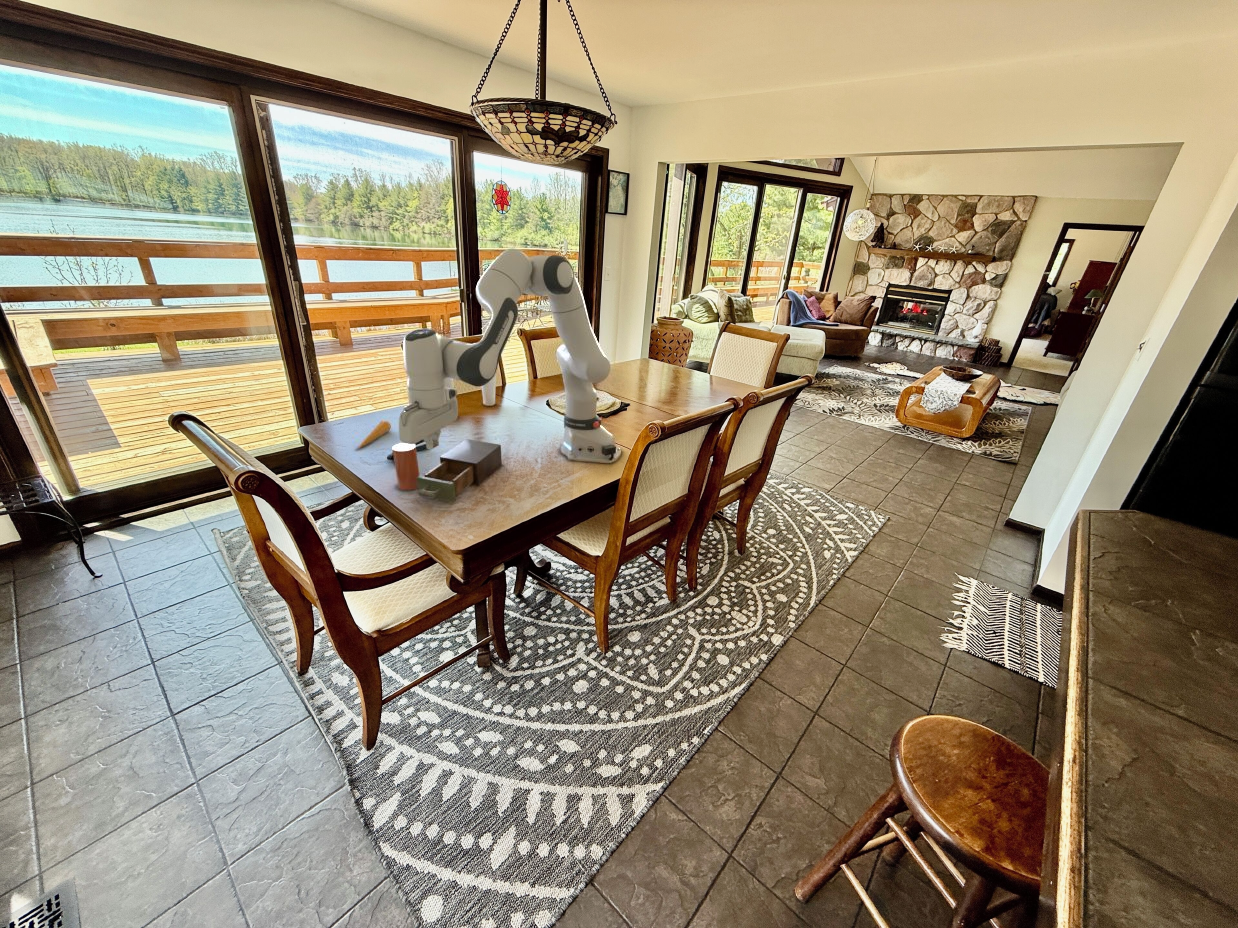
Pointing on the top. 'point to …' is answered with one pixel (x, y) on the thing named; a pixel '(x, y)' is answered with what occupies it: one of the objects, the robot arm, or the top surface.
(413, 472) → the terracotta cylinder
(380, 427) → the carrot
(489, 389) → the drinking glass
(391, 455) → the can opener
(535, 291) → the robot arm
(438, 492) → the drawer
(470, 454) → the cabinet
